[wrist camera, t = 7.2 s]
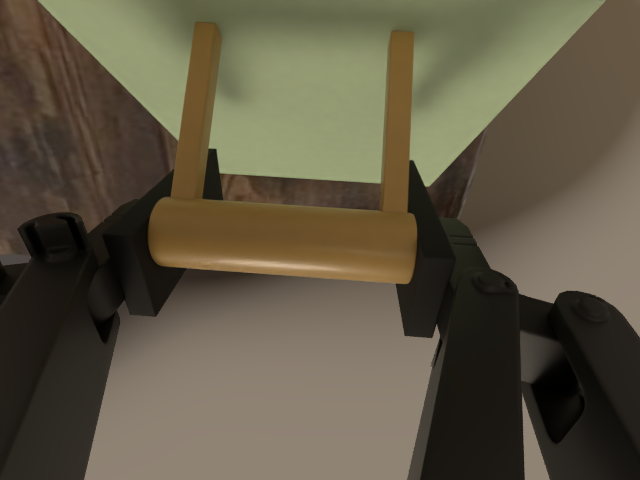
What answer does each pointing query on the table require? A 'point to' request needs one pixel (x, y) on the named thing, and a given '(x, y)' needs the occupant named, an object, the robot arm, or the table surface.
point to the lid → (314, 111)
